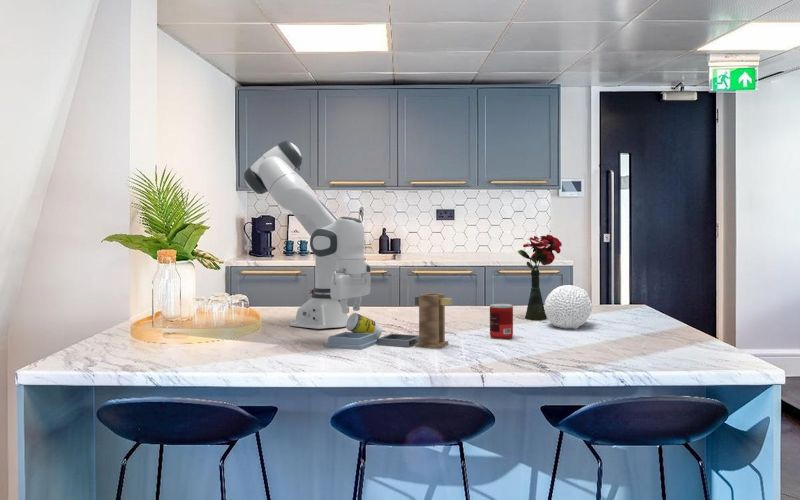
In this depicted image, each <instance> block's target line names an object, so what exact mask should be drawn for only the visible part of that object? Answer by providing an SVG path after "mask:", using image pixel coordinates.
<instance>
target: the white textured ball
mask: <svg viewBox="0 0 800 500" xmlns="http://www.w3.org/2000/svg"><path fill="white" fill-rule="evenodd" d="M545 298H546V299H545V300H544V310H545V314H546V317H547V320H548V321H549V323H551V324H552V325H553V326H555V327H557V328H560V329H564V330H567V329H573V330H577V329H578V328H579V327H581V326H583V325H584V323H586V322H587V320H588V319H589V318H590V316H591V313H592V311H593V310H592V309H593V304H592V300H591V298H590V297H589V293H588V292H587V291H586V290H585V289H583V288H582V287H579V286H576V285H571V284H568V285H566V284H564V285H560V286H558V287H556V288H554V289H553V290H552V291H550V293H549V294H548V295H547V297H545Z"/></svg>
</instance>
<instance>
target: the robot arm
mask: <svg viewBox="0 0 800 500" xmlns="http://www.w3.org/2000/svg"><path fill="white" fill-rule="evenodd" d="M302 163H303V157H302V153H301V151H300V149H299V147H298V146H296V144H294V143H292V142H290V141H289V140H282V141H280V142H278V143H277V145H275V146H273V147H272V148H271V149H269V150H267V151H266V152H264V153H263V154H262V156H260V157H259V158H258V159H257V160H256V161H255V162H254V163H253V164H251V166H249V167H248V168H247V169H246V170H245V171H244V173H243V179H244V181H245V184H246V186H247V187H248V188H249V189H250V191H252V192H254V193H256V194H257V195H264V194H265V193H267V192H268V193H269V195H270V196H271V197H272V198H273V200H274V201H275V202H276V203H277V204H278V205H279V206H281V207H282V208H283V209H285V210H287V211H290V213H291V214H293V216H294V217H295V219H297V221H298V222H299V223H300V225H301V226H302V227H303V229H304V230H305V231H306V233H307V234H308V235H309V236H310V238H309V246H310V249H311V252H312V253H313V255H315V266H314V267H315V268H314V269H315V270H314V271H315V272H314V274H315V275H314V276H315V279H314V281H315V283H314V285H315V287H314V288H313V289H311V290H309V293H308V294H309V295H310V294H311V296H310V298H309V300H307V301H305V303H303V304H302V305H301V306H300V307H298V308H297V311H296V314H295V315H296V316H295V320H294V321H290V323H289V326H291V327H300V328H308V329H309V328H310V329H316V330H321V329H330V328H344V327H346V324H347V320H348V318H349V317H348V314H349V313H350V307H349V305H348V303H349V300H350V299H353V300H354V303H353V304H352V310H353V312H358V311H360V310H361V303H362V300H363V296H368V295H370V293H371V287H372V285H371V281H372V278H371V277H372V276H371V273H372V266H371V265H369V264H368V263H367V262H365V260H366V258H365V254H364V249H365V246H366V245H365V228H364V224H363V222H362V220H360V219H359V218H357V217H349V216H341V217H338V218H336V216H335V215H334V214H333V213H332V212H331V211H330V209H328V208H327V207H326V205H325V204H324V203H323V201H322V200H320V198H319V197H318V196H317V194H316V193H315V191H313V190H312V188H311V187H310V186H309V184H308V183H307V181H305V180H304V178H302V176H300V174H298V173H297V172H296V171H295V170H296V169H297V170H298V171H299V172H300V170H301V168H300V167H301V166H302Z"/></svg>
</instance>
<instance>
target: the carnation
mask: <svg viewBox="0 0 800 500" xmlns="http://www.w3.org/2000/svg"><path fill="white" fill-rule="evenodd" d="M539 237H540V239H539ZM539 237H538V236H536V235H533V237H530V236H529V238H528V237H526V240H528V241H529V242H530V243H529V242H525V243H523V245H522V247H523V248H530V250H529V251H531V250H532V254H531V256H530V255H529V254H528V253H527V251H525V250H524V249H518V250H517V251H516V252H517V253H518V254H519V255H520V256H522V257H523V258H525V259H527V260H529V261H526V266H527V267H528V268H529V269H531V270H530V275H531V281H530V282H531V288H530V293H529V299H528V303H527V308H526V312H525V316H524V319H525V320H529V321H545V320H548V317H547V315H546V312H545V308H544V306H545V304H544V302H543V297H542V291H541V287H540V270H539V267H540V266H539V265H540V263H541V265H542V266H548V265H551V264H552V263H553V262H554V260H555V257H556V256H555V254H554V252H555V253H556V254H560V253H561V247H562V245H563V244H562V241H560V239H559V238H557V237H555V236H553V235H551V234H546V235H541V236H539ZM553 251H554V252H553ZM532 262H533V263H534V266H533V264H532Z"/></svg>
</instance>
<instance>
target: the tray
mask: <svg viewBox="0 0 800 500" xmlns="http://www.w3.org/2000/svg"><path fill="white" fill-rule="evenodd" d="M327 341H328V342H324V343H323V347H324V348H336V349H337V348H338V349H346V350H347V349H349V350H360V351H362V350H363V349H367V348H370V347H372V346H375V345H377V339H375V334H370V333H355V332H351V331H343V332H340V333H337V334H336V333H335V334H333V335H330V336H328V338H327Z"/></svg>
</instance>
